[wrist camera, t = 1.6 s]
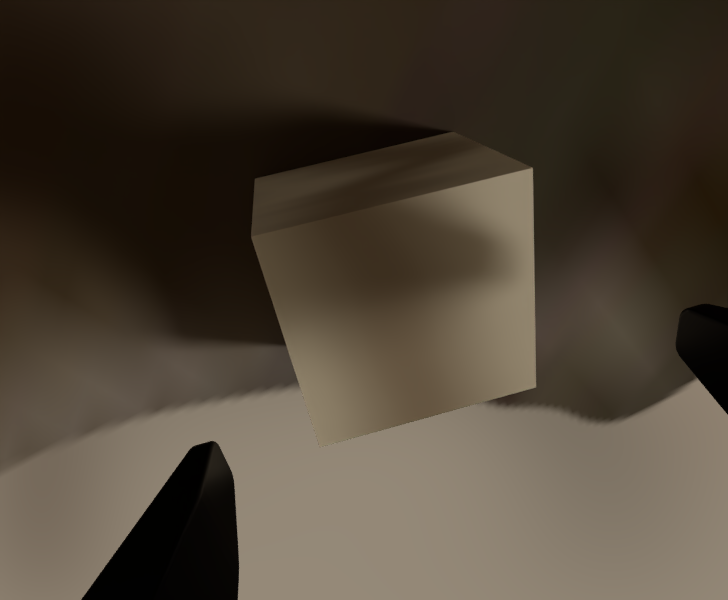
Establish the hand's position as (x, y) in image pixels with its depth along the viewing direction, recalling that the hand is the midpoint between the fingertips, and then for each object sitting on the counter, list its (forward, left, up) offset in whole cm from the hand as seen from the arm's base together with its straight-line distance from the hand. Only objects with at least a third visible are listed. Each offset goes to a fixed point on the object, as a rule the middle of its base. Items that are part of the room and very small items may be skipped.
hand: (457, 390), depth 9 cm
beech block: (0, 0, -8) cm, 8 cm away
